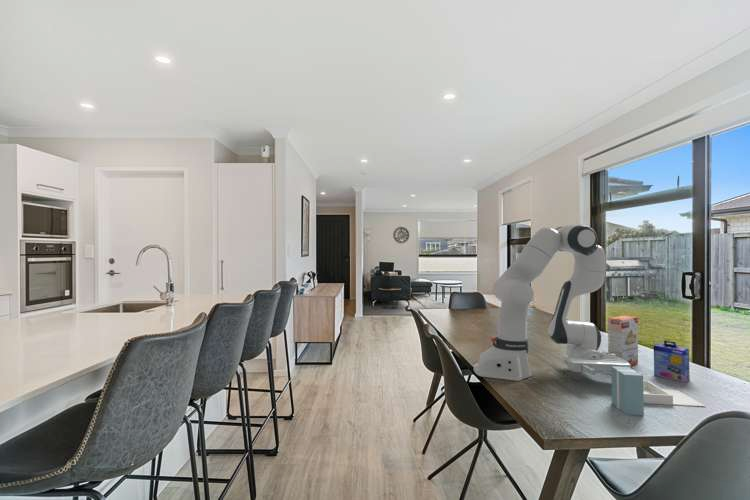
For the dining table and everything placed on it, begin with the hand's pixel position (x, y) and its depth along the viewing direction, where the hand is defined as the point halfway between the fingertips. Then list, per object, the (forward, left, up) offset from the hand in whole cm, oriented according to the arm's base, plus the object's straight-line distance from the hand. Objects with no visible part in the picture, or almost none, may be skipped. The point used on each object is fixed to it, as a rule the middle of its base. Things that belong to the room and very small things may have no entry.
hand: (608, 372), depth 119 cm
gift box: (0, -12, -7) cm, 14 cm away
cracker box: (+22, +35, -7) cm, 42 cm away
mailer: (+15, 0, -7) cm, 17 cm away
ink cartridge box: (+32, +21, -7) cm, 39 cm away
